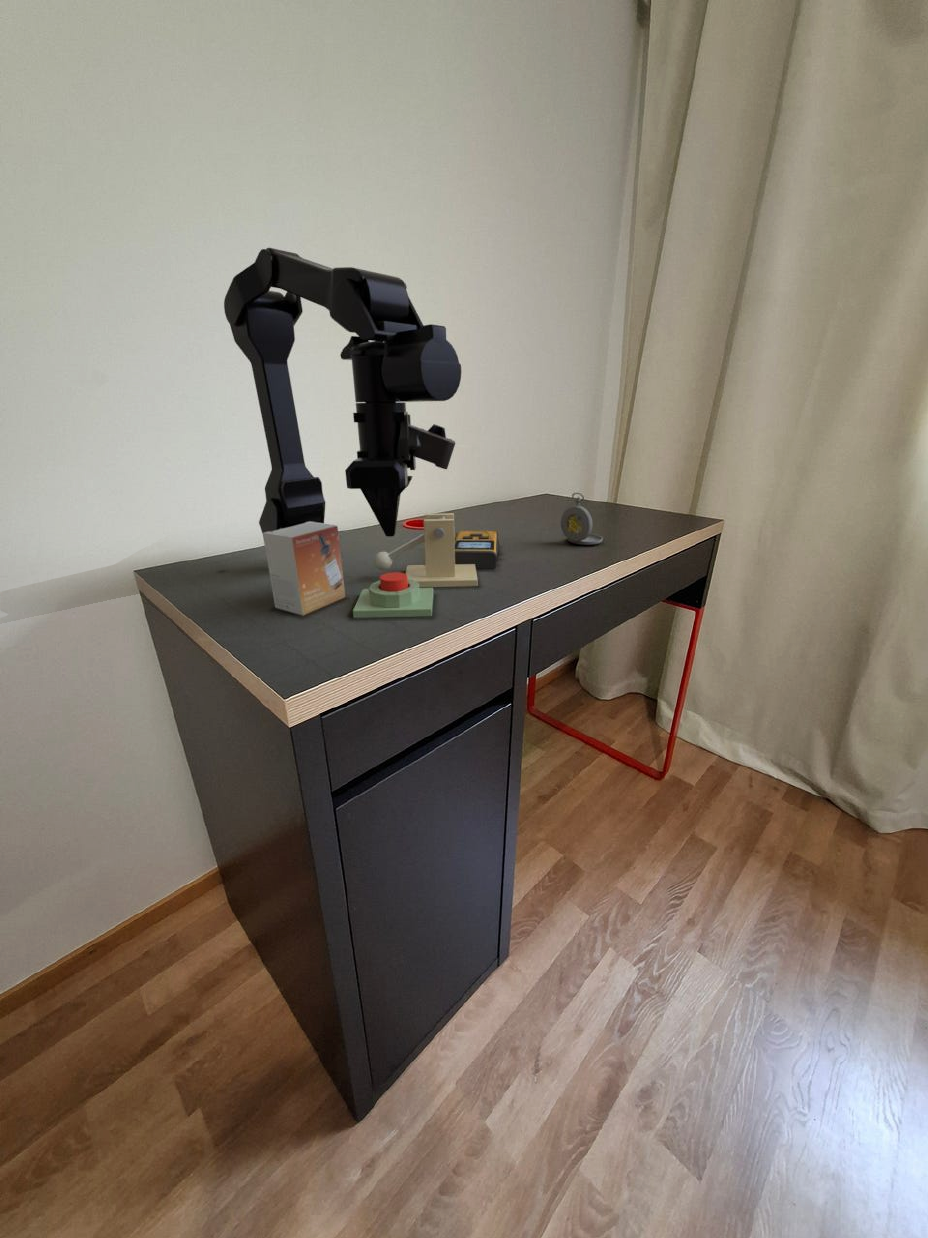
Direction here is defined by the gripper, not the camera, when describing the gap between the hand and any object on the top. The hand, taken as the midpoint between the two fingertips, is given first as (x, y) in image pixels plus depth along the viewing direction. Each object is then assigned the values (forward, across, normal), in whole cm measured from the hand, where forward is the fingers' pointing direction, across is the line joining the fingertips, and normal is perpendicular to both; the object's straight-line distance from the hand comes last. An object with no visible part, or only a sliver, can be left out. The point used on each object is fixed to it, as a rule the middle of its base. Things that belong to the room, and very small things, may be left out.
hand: (390, 535), depth 63 cm
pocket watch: (+10, +31, -33) cm, 46 cm away
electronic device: (+10, +23, -12) cm, 28 cm away
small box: (+10, +2, +12) cm, 15 cm away
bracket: (+10, +11, -6) cm, 16 cm away
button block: (+10, 0, 0) cm, 10 cm away
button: (+7, 0, 0) cm, 7 cm away
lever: (+5, +11, -2) cm, 12 cm away
